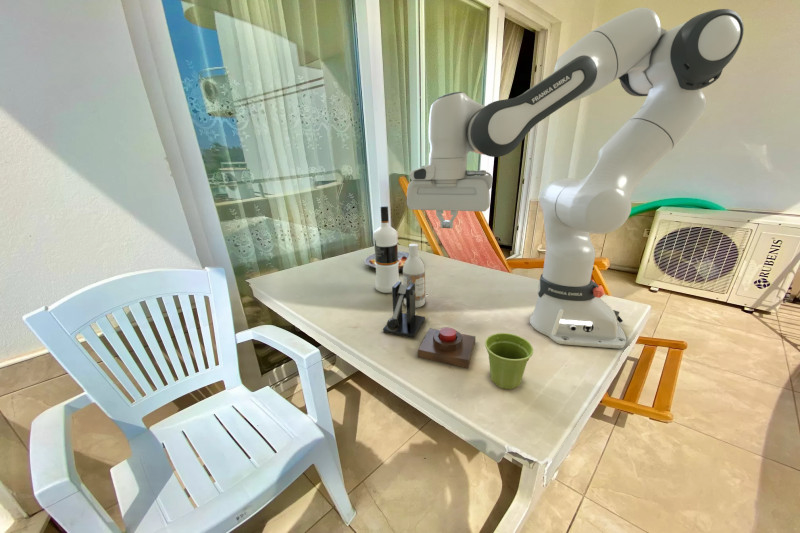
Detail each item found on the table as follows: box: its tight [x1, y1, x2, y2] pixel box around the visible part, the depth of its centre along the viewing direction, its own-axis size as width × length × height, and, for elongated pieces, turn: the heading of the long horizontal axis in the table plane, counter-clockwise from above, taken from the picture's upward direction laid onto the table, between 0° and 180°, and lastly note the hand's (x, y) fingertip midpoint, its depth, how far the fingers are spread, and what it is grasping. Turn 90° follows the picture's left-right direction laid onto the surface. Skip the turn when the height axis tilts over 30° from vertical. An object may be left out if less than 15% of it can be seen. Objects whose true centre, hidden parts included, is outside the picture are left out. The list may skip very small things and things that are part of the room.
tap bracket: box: [382, 280, 426, 339], centre depth 84 cm, size 10×9×13 cm
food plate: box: [364, 250, 423, 272], centre depth 134 cm, size 25×23×4 cm
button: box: [439, 326, 457, 342], centre depth 74 cm, size 4×4×2 cm
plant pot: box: [484, 332, 534, 390], centre depth 64 cm, size 9×9×9 cm
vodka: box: [372, 205, 401, 294], centre depth 105 cm, size 9×9×30 cm
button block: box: [417, 327, 476, 369], centre depth 75 cm, size 12×10×4 cm
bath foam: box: [402, 243, 426, 309], centre depth 96 cm, size 7×7×20 cm
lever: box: [386, 283, 408, 331], centre depth 80 cm, size 13×3×3 cm
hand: (446, 227), depth 77 cm, fingers closed
